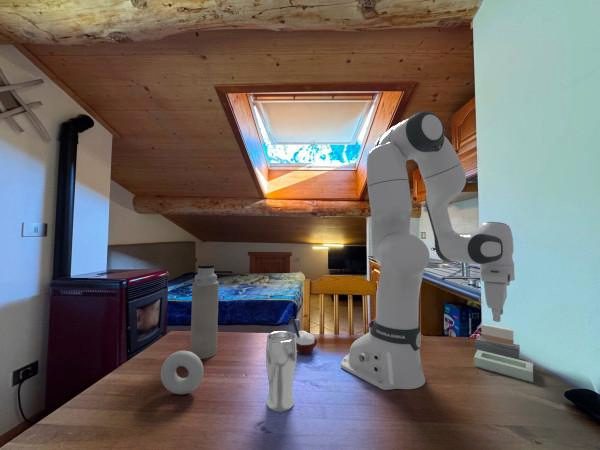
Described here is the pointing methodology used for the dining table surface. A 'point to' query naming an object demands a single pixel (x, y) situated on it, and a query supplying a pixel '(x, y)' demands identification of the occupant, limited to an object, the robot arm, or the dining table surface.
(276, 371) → the beer glass
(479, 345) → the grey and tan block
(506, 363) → the tray
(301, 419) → the dining table surface
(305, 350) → the coconut drink with straw
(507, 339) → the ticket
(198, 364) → the donut
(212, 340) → the thermos bottle
